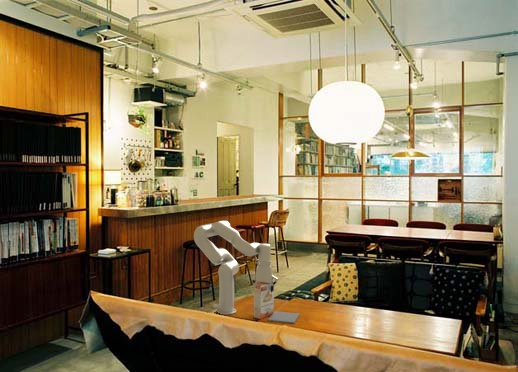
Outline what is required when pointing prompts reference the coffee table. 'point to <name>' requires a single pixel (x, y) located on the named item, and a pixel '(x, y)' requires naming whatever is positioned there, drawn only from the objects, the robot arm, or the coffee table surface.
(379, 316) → the coffee table surface
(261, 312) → the cracker box
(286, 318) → the slate mat
